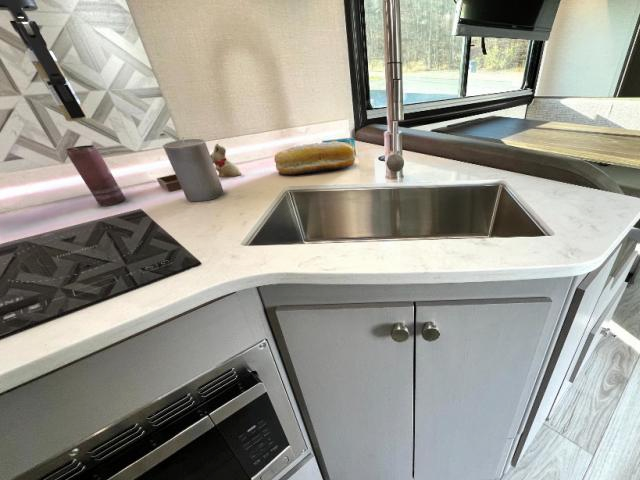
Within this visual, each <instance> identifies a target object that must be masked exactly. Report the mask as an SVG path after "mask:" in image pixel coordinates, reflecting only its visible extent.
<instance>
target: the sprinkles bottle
mask: <svg viewBox="0 0 640 480" xmlns="http://www.w3.org/2000/svg"><path fill="white" fill-rule="evenodd" d="M49 52H50V54H51V56H52V57H53V59H54V61H55V63H56V65H57V66H58V68H59V70H60V72H61V73H62V75H63V76H64V77H65V80H66V84H64V85H67V84H68V86H69V88H70V90H71V91H72V93H73V95H74V97H75V99H76V100H77V102H78V104H79V106H80V107H81V109H82V111H83V113H84V114H85V116H86V117H82V118H71V117H70V115H69V113H68V112H67V110H66V108H65V107H64V105H63V103H62V101H61V100H60V98H59V96H58V95H57V93H56V91H55V90H54V88H53V86H52V85H48V84H47V82H46V81H49V78H48V76H47V74H46V73H45V71H44V69H43V68H42V66H41V64H40V63H39V61H38V59H37V58H36V56H35V54H34V53H33V51H32V50H26V51H24V53H25V55H26V57H27V58H28V61H29V62H30V63H32V65H33V66H34V68H35V70H36V72H37V73H38V75H39V77H40V79H41V80H42V82H43V84H44V86H45V87H46V88H47V90H48V92H49V94H50V96H51V97H52V100H53V101H54V102H55V104H56V106H57V107H58V109H59V110H60V112H61V113H62V115H63V117H64V119H65V121H67V122H80V121H86V120H89V118H90V117H89V116H88V114H87V113H86V111H85V109H84V108H83V106H82V103H81V101H80V100H79V97H78V96H77V94H76V92H75V91H74V89H73V87H72V85H71V83H70V82H69V80H68V78H67V76H66V75H65V73H64V72H63V70H62V68H61V67H60V65H59V62H58V59H57V57H56V55H55V54H54V52H53V51H52V50H49Z"/></svg>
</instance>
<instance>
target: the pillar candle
mask: <svg viewBox="0 0 640 480" xmlns="http://www.w3.org/2000/svg"><path fill="white" fill-rule="evenodd" d="M161 147H162V148H163V149H164V151H165V154H166V156H167V158H168V161H169V163H170V165H171V168H172V169H173V172H174V174H176V176H177V179H178V181H179V183H180V185H181V187H182V189H181V190H182V192H183V194H184V196H185V198H186V200H187V201H189V202H206V201H211V200H215V199H217V198H220V197H221V196H222V195H224V193H225V191H224V189H223V185H222V184H221V180H220V178H219V177H220V176H219V173H218V171H217V170H216V167H215V164H214V163H213V161H212V159H211V156H210V155H211V154H210V151H209V149H208V145H207V143H206V141H205V139H201V138H188V139H185V138H184V136H182V139H180V140H173V141H169V142H167V143H164V144H162V146H161Z"/></svg>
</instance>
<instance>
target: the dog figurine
mask: <svg viewBox="0 0 640 480" xmlns="http://www.w3.org/2000/svg"><path fill="white" fill-rule="evenodd" d="M226 153H227V149H226V147H225V146H222V145H221V144H220V143H218V142H217V143H216V144H215V145H214V149H213V151H212V152H211V154H210V156H211V159H212V161H213V164H214V167H215V169H216V172H217V173H218V177H222V178H233V177H234V178H235V177H239V176H242V175H243V174H242V172H241V170H240V169H239V167H238V166H237V165H236V163H234V162H232V161H230V160H228V159H227V157H226Z"/></svg>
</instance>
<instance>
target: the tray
mask: <svg viewBox="0 0 640 480" xmlns="http://www.w3.org/2000/svg"><path fill="white" fill-rule="evenodd" d="M156 180H157V182H158V184H159V186H160V187H161V188H163V189H164V190H166V191H167V192H169V193H171V192H174V191H180V190H182V187H181V185H180V183H179V181H178V179H177V176H176V174H175V173H174V174H169V175H165V176H161V177H160V176H159V177H156Z"/></svg>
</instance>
